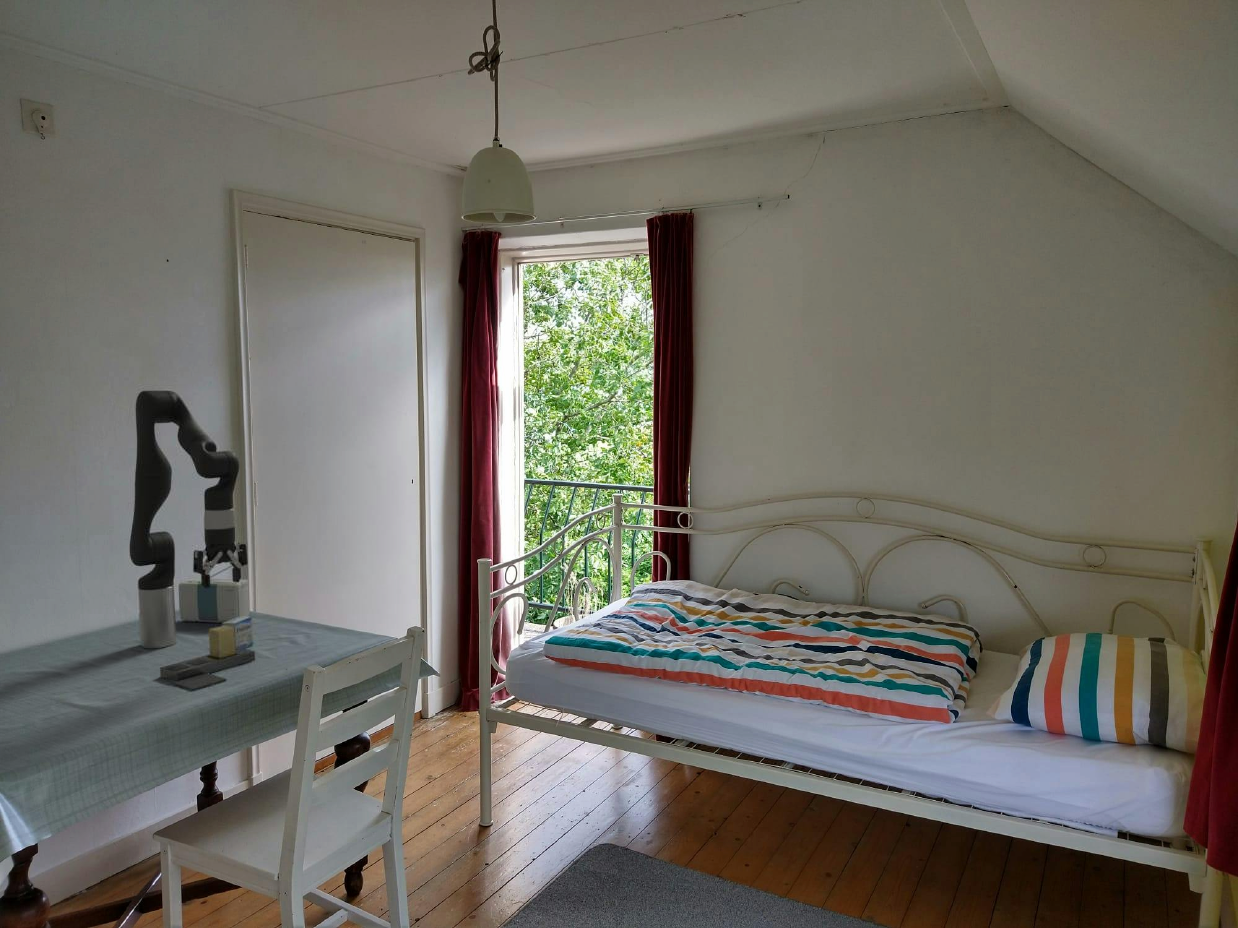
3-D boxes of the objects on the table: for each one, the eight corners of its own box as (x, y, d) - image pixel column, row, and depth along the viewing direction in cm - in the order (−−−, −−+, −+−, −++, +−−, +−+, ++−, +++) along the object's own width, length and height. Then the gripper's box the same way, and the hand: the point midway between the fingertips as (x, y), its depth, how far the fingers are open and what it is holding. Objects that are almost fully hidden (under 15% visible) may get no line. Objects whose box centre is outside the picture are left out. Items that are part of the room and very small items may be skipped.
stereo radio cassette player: (178, 622, 280) (175, 561, 278) (195, 616, 288) (192, 557, 286) (237, 625, 276) (235, 563, 275) (252, 618, 284) (250, 558, 283)
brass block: (210, 665, 235) (208, 629, 234) (225, 660, 239) (224, 625, 238) (220, 668, 233) (218, 631, 232) (235, 663, 236) (233, 627, 236)
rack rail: (160, 676, 226) (160, 667, 225) (237, 655, 244) (237, 646, 244) (177, 682, 221) (177, 672, 221) (255, 660, 239) (254, 650, 239)
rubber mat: (172, 684, 220) (172, 682, 220) (206, 674, 227) (206, 672, 227) (192, 690, 215) (192, 688, 215) (226, 680, 222) (226, 678, 222)
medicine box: (236, 653, 246) (235, 623, 245) (222, 652, 247) (221, 622, 246) (253, 645, 254) (252, 616, 253) (240, 644, 255) (238, 615, 254)
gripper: (235, 520, 240) (237, 578, 242) (186, 527, 228) (188, 588, 230) (252, 523, 236) (253, 581, 238) (202, 530, 224) (204, 592, 226)
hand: (221, 584), depth 234 cm, fingers open, 8 cm apart
